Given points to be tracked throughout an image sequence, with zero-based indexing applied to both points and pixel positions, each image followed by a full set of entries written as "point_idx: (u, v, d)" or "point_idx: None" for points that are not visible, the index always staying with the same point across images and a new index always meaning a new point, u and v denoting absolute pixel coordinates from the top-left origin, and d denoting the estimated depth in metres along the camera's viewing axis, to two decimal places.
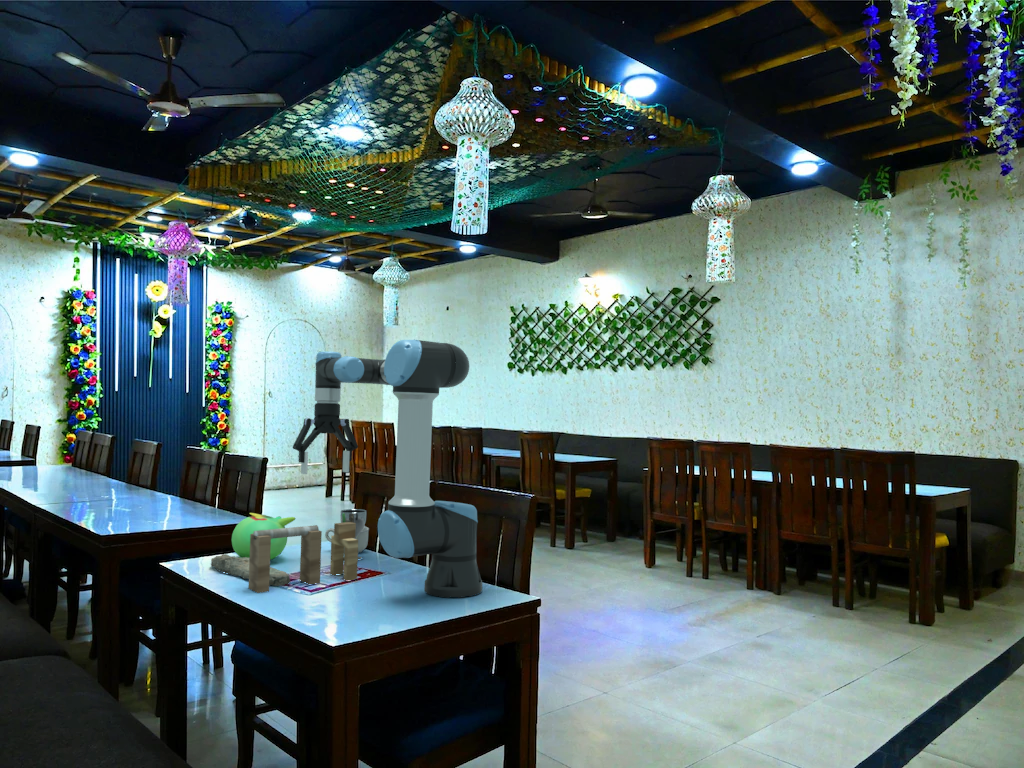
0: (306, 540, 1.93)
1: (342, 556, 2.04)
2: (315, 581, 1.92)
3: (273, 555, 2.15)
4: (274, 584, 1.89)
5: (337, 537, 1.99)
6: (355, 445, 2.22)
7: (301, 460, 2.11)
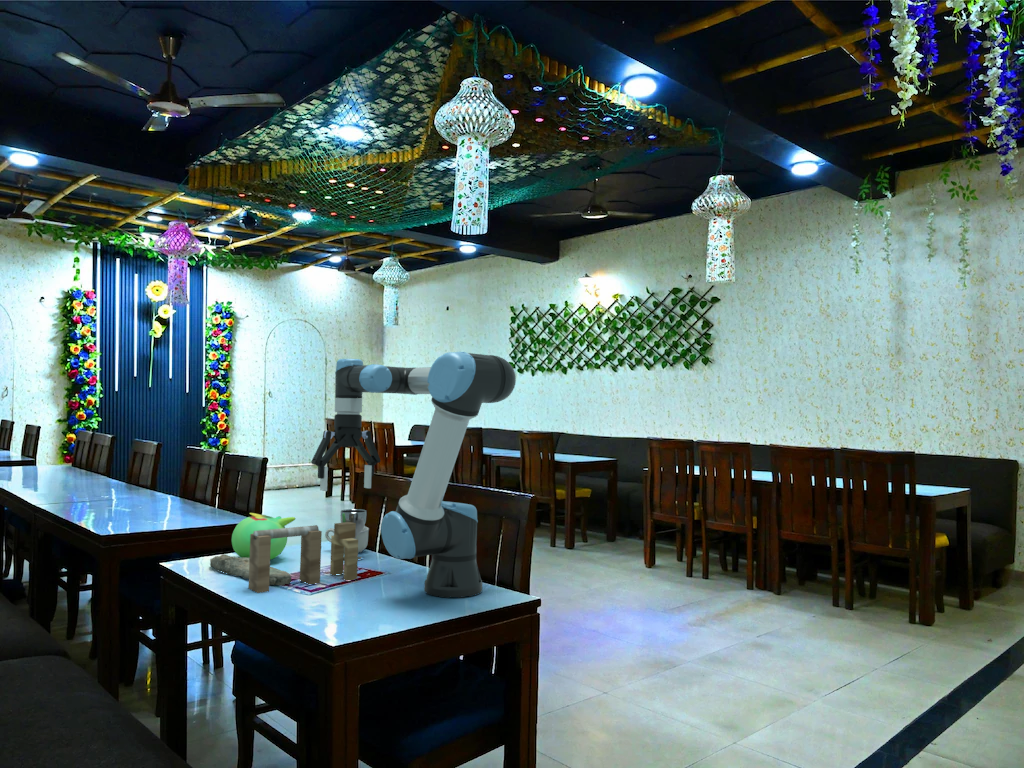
0: (306, 540, 1.93)
1: (342, 556, 2.04)
2: (315, 581, 1.92)
3: (273, 555, 2.15)
4: (276, 584, 1.90)
5: (337, 537, 1.99)
6: (377, 459, 2.07)
7: (320, 476, 1.96)
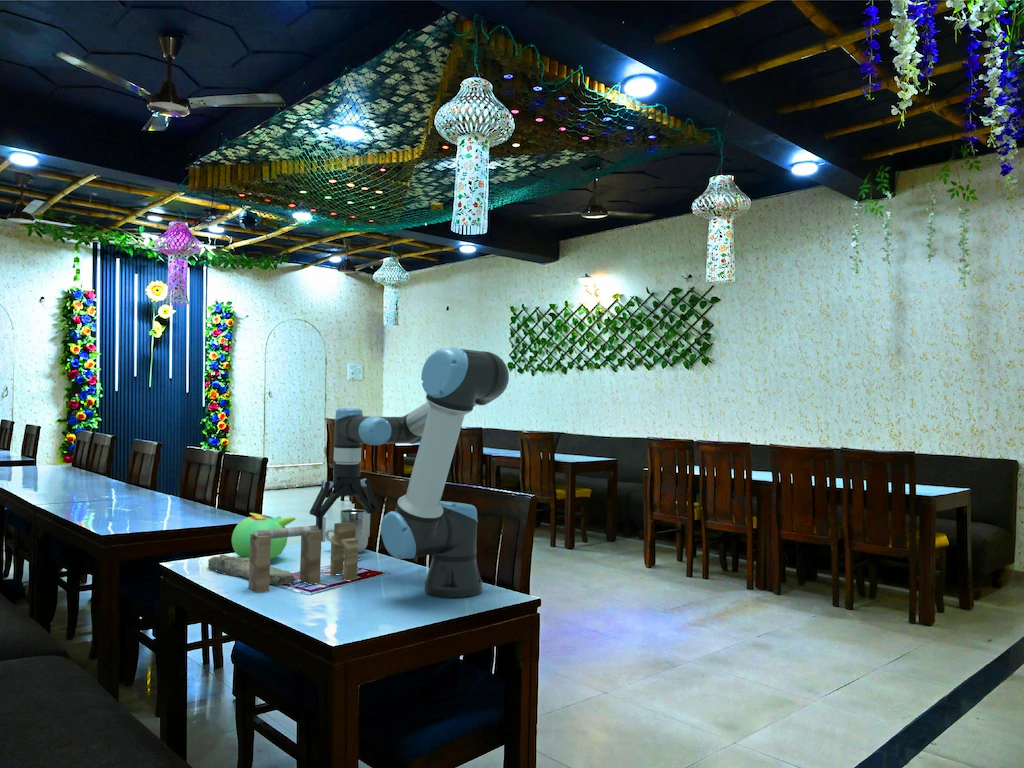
0: (306, 540, 1.93)
1: (342, 556, 2.04)
2: (315, 581, 1.92)
3: (273, 555, 2.15)
4: (279, 583, 1.90)
5: (337, 537, 1.99)
6: (376, 507, 2.07)
7: (319, 527, 1.96)
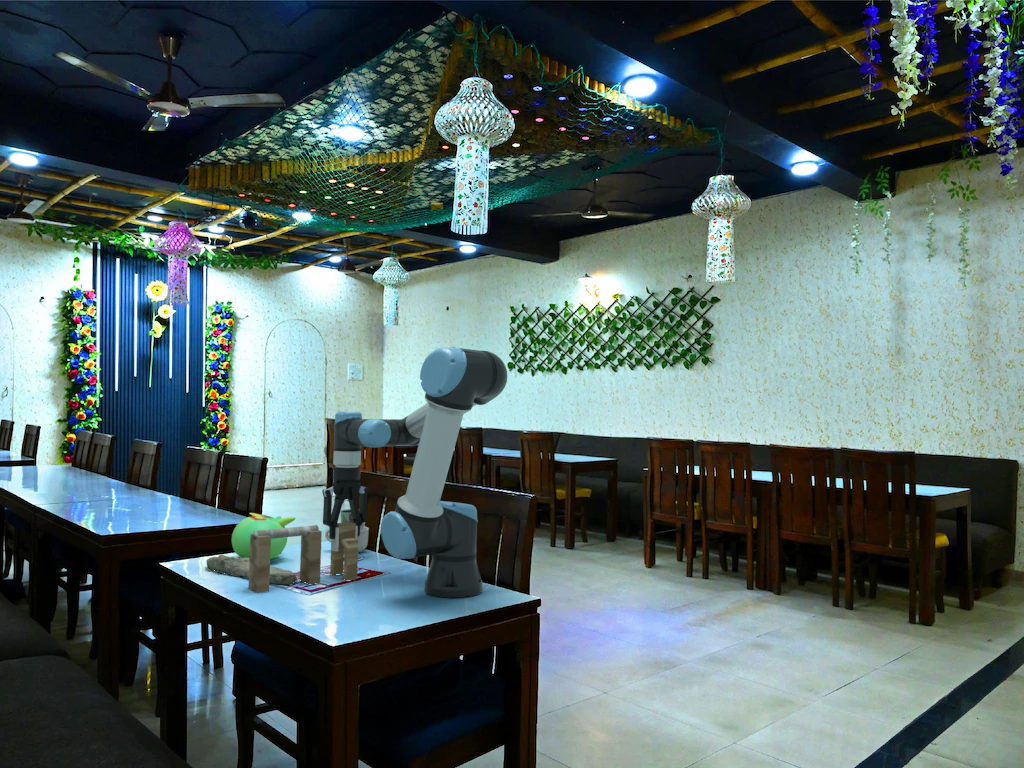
0: (306, 540, 1.93)
1: (342, 556, 2.04)
2: (315, 581, 1.92)
3: (273, 555, 2.15)
4: (282, 582, 1.91)
5: None
6: (364, 518, 2.04)
7: (332, 536, 1.98)
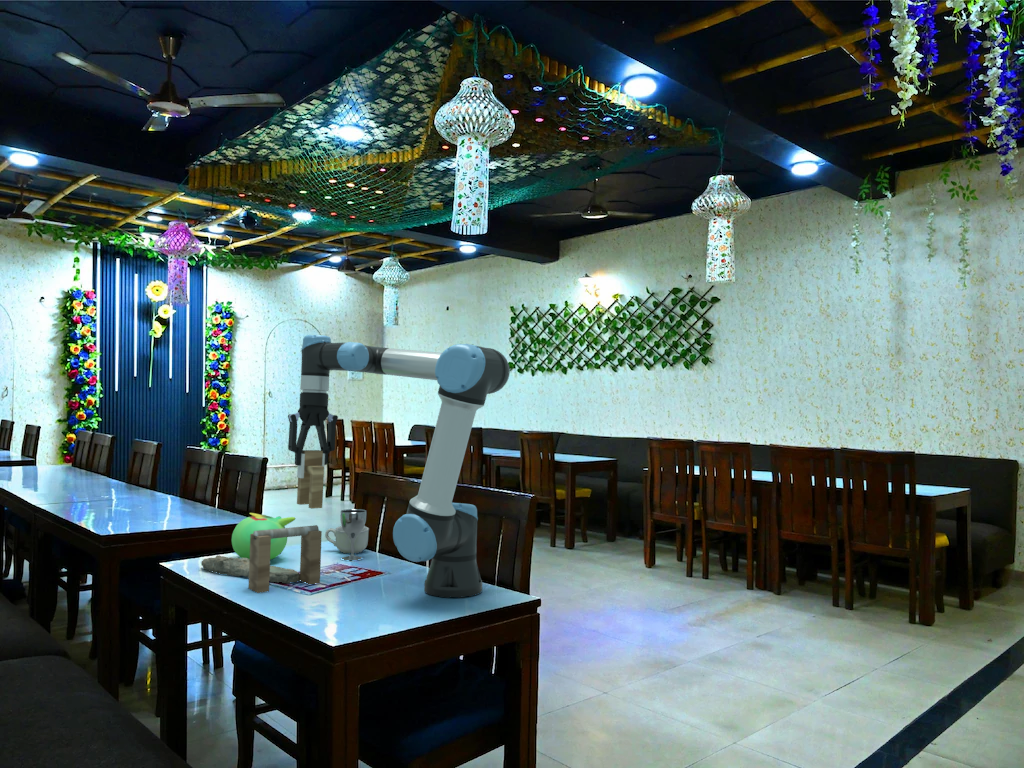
0: (306, 540, 1.93)
1: (309, 485, 1.98)
2: (315, 581, 1.92)
3: (273, 555, 2.15)
4: (287, 581, 1.92)
5: None
6: (332, 447, 1.98)
7: (297, 463, 1.92)
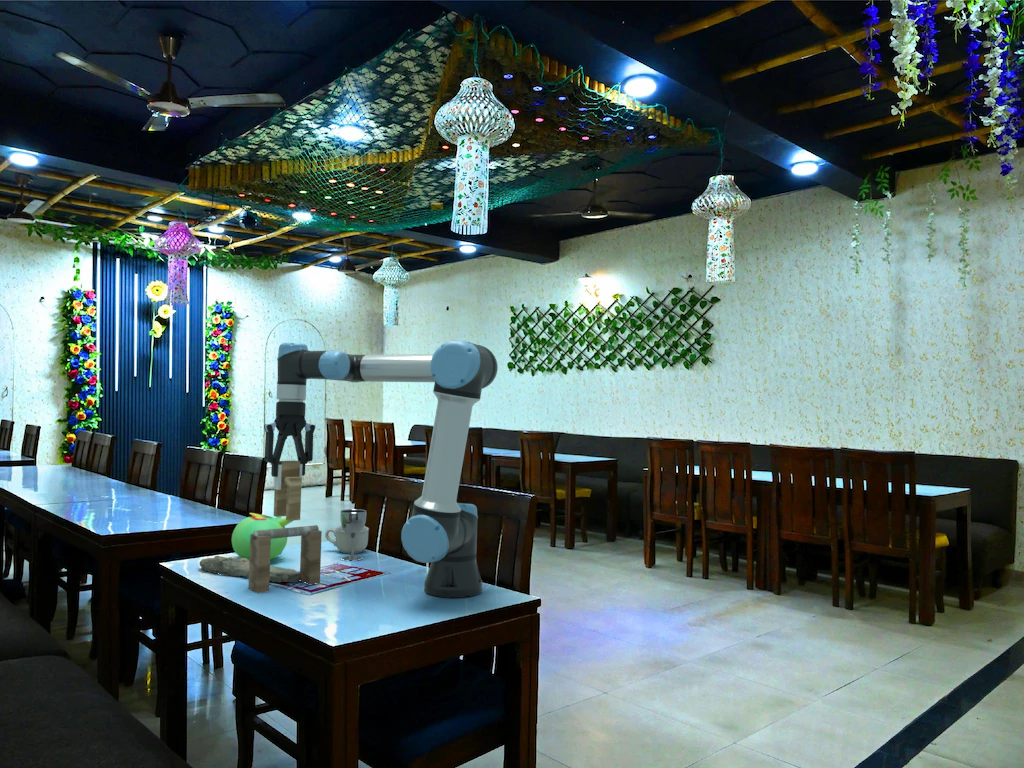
0: (306, 540, 1.93)
1: (286, 496, 1.93)
2: (315, 581, 1.92)
3: (273, 555, 2.15)
4: (288, 581, 1.93)
5: None
6: (310, 457, 1.93)
7: (274, 474, 1.87)
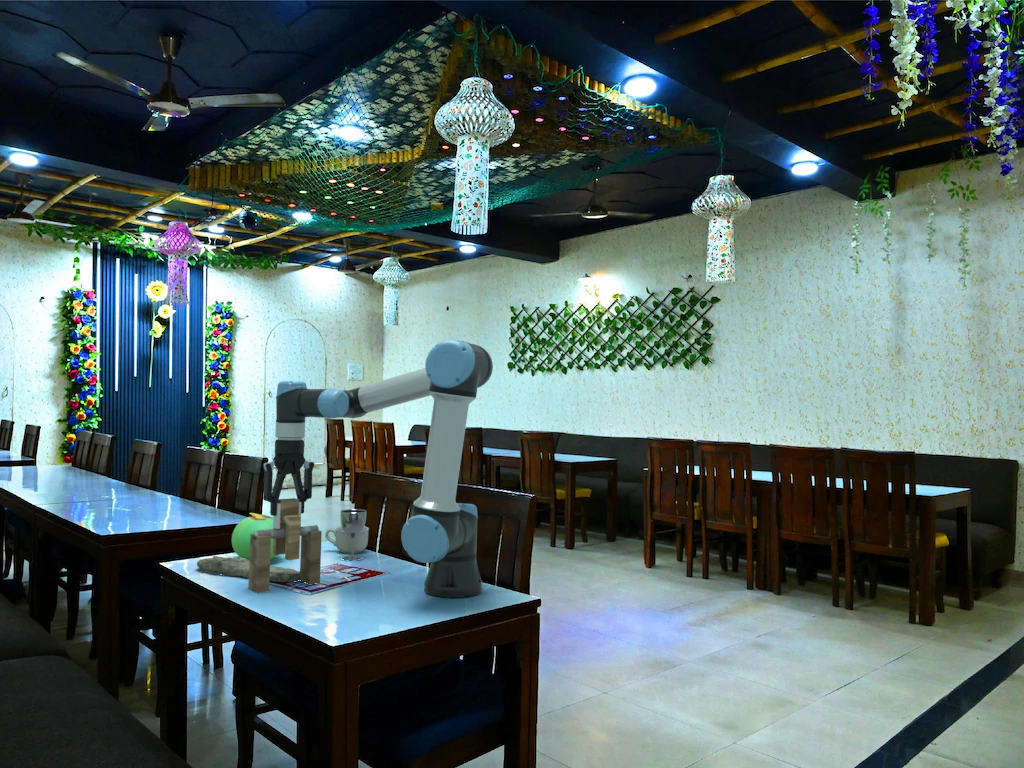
0: (306, 540, 1.93)
1: None
2: (315, 581, 1.92)
3: (273, 555, 2.15)
4: (289, 581, 1.93)
5: None
6: (309, 494, 1.93)
7: (273, 513, 1.87)
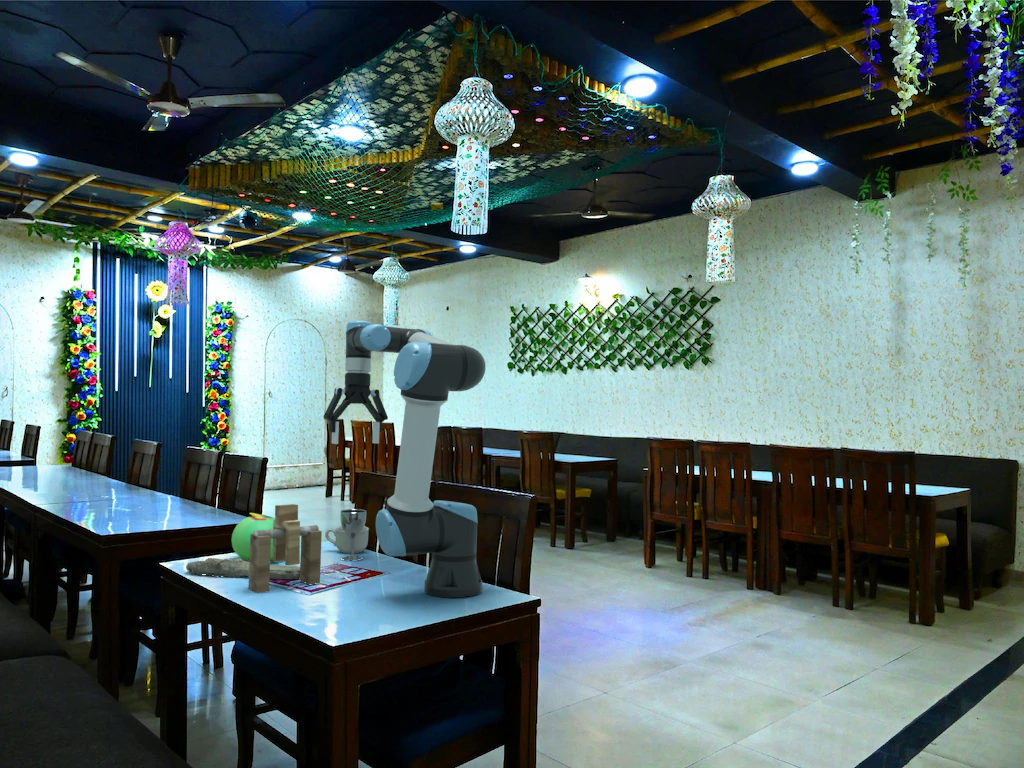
0: (306, 540, 1.93)
1: (285, 541, 1.93)
2: (315, 581, 1.92)
3: None
4: (298, 577, 1.97)
5: (278, 519, 1.88)
6: (385, 416, 2.20)
7: (332, 430, 2.09)
